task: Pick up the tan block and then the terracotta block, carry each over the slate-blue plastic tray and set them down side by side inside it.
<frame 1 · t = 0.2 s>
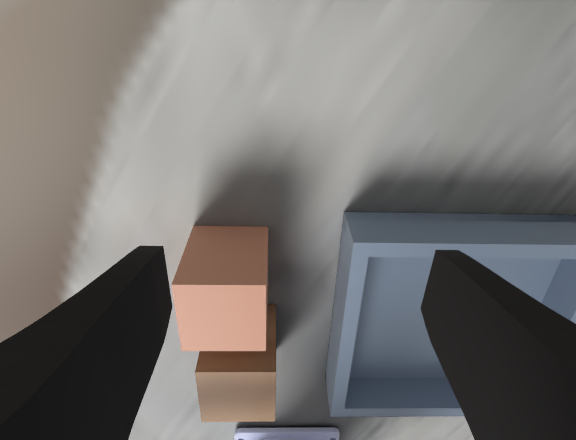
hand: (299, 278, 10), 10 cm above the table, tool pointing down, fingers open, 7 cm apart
terracotta block: (232, 256, 22), on the table
tray: (437, 305, 24), on the table
tan block: (244, 327, 24), on the table
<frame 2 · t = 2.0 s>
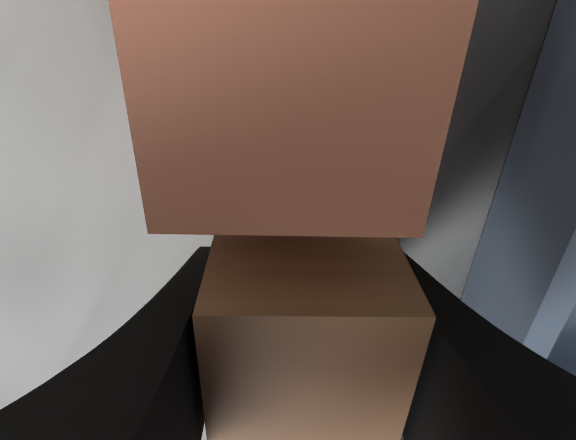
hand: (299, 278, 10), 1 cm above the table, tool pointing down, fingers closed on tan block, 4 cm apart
terracotta block: (285, 50, 9), on the table
tan block: (296, 249, 12), on the table, touching gripper
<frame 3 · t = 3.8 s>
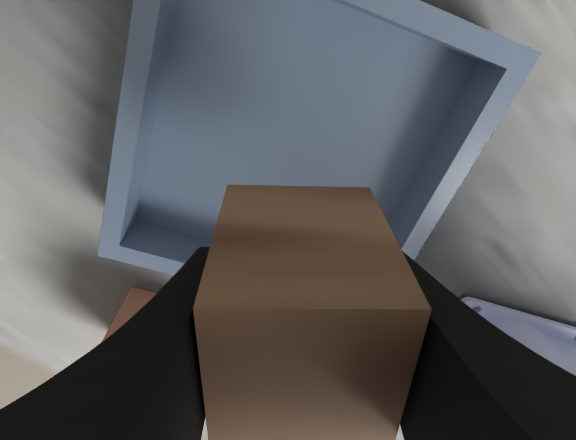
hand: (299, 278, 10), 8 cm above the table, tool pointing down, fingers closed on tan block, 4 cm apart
terracotta block: (161, 320, 22), on the table
tray: (290, 142, 17), on the table
tan block: (295, 245, 12), point 7 cm above the table, touching gripper
when the fingers open (4 cm above the table, at t = 5.4 s): tan block drops 1 cm, resting on tray.
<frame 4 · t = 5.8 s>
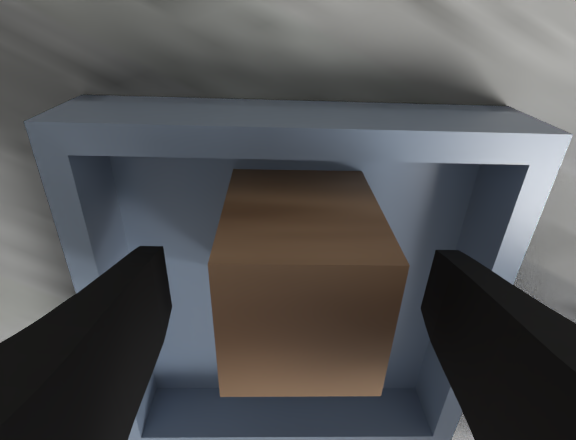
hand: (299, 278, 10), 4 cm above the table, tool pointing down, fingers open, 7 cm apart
tray: (291, 272, 15), on the table
tan block: (295, 225, 13), point 1 cm above the table, touching tray
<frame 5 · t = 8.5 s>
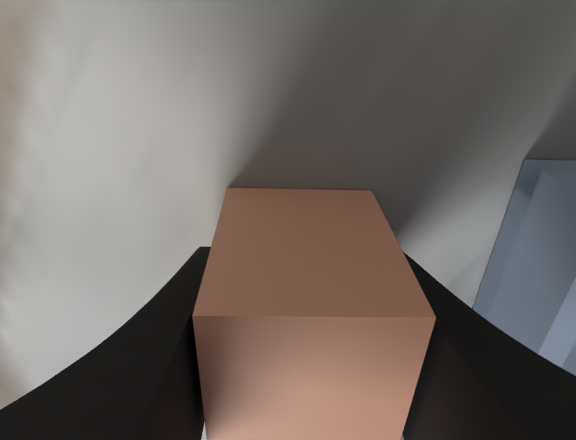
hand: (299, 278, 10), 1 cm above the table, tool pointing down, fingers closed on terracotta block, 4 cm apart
terracotta block: (296, 249, 12), on the table, touching gripper
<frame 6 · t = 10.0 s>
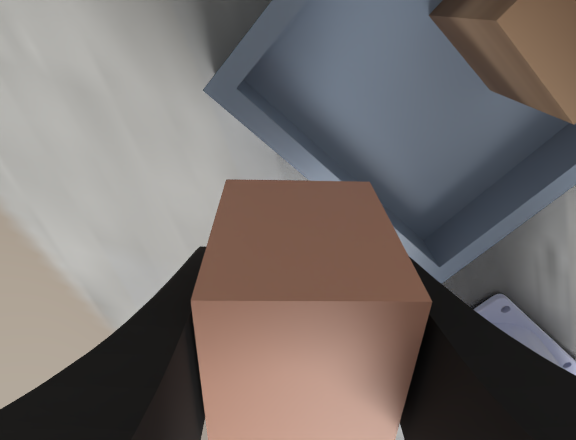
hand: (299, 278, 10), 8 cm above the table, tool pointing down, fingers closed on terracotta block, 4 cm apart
terracotta block: (295, 241, 12), point 7 cm above the table, touching gripper
tray: (440, 62, 16), on the table
tan block: (505, 10, 14), point 1 cm above the table, touching tray
when the fingers open (4 cm above the table, at t = 11.6 s): terracotta block drops 1 cm, resting on tray.
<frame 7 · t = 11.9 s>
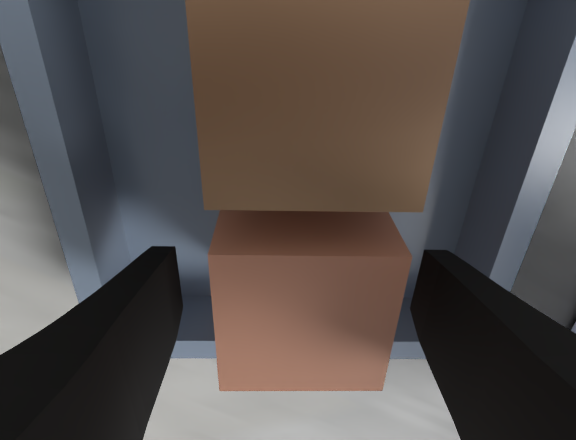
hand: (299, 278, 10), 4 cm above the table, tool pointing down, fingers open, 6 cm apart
terracotta block: (296, 220, 13), point 1 cm above the table, touching tray
tray: (297, 142, 12), on the table
tan block: (303, 59, 10), point 1 cm above the table, touching tray
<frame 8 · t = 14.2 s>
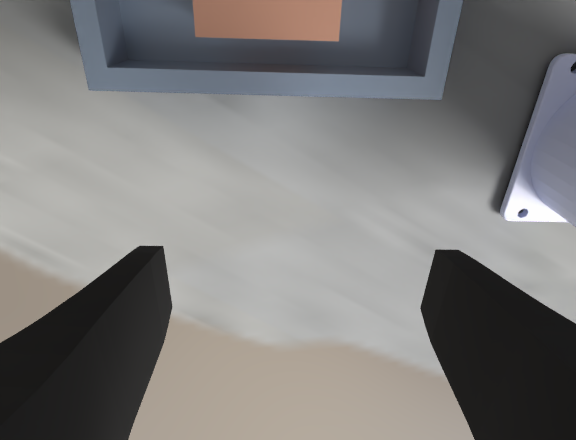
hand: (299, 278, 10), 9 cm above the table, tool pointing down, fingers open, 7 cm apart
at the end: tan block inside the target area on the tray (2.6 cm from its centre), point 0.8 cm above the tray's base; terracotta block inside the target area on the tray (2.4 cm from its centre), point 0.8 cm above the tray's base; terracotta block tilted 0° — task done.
